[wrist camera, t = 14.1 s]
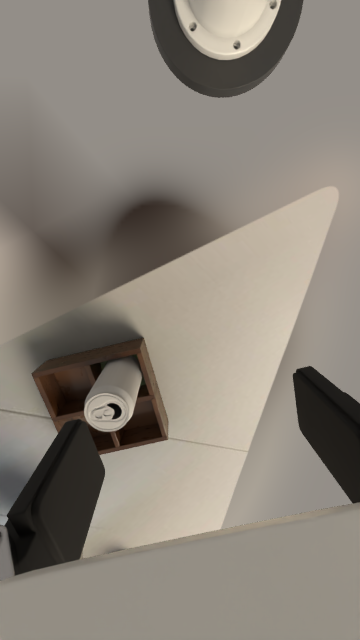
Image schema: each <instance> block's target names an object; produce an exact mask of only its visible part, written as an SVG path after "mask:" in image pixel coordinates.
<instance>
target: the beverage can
mask: <svg viewBox="0 0 360 640" xmlns="http://www.w3.org/2000/svg"><path fill="white" fill-rule="evenodd" d="M142 375H143V373H142V370H141V366H140V363H139V361H138V360H137V359H136V358H135V357H133V356H131V355H130V356H125V357H121V358H117V359H112V360H109V361H108V362H107V364H106V365H105V367H104V369H103V370H102V372H101V374H100V375H99V377H98V379H97V380H96V382H95V384H94V385H93V387H92V389H91V390H90V392H89V394H88V395H87V397H86V400H85V408H84V415H85V418H86V420H87V422H88V423H89V424H90V425H91V426H92V427H94V428H95V429H97V430H100V431H104V432H112V431H116V430H119V429H121V428H122V427H123V426H124V425H125V424H126V423H127V422H128V421H129V419H130V418H131V417H132V415H133V411H134V407H135V403H136V399H137V395H138V391H139V387H140V383H141V379H142Z"/></svg>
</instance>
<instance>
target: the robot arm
mask: <svg viewBox="0 0 360 640" xmlns="http://www.w3.org/2000/svg"><path fill="white" fill-rule="evenodd" d="M173 2H174V7H175V13H176V16H177V19H178V22H179V25H180V27H181V29H182V31H183V33H184V34H185V36H186V38H187V39H188V40H189V41H190V43H191V44H192V45H193V46H194V47H195V48H196V49H197V50H199V51H200V52H201V53H203V54H205V55H207V56H208V57H211V58H214V59H218V60H232V59H237V58H240V57H242V56H244V55H246V54H248V53H249V52H251V51H252V50H253V49H255V48H256V47H257V46H258V45H259V44H260V43H261V42H262V41H263V39H264V38H265V36H266V35H267V33H268V32H269V30H270V28H271V26H272V24H273V22H274V20H275V18H276V15H277V12H278V10H279V7H280V3H281V0H173ZM293 382H294V390H295V398H296V406H297V414H298V422H299V427H300V430H301V432H302V434H303V435H304V436H305V438H306V439H307V440H308V442H309V443H310V445H311V446H312V448H313V449H314V450H315V451H316V453H317V454H318V456H319V457H320V458H321V460H322V461H323V463H324V464H325V466H326V467H327V468H328V470H329V471H330V472H331V474H332V475H333V477H334V478H335V479H336V481H337V482H338V483H339V485H340V486H341V488H342V489H343V490H344V492H345V493H346V495H347V496H348V497H349V499H350V500H351V501H352V503H353V504H348V505H342V506H337V507H331V508H326V509H321V510H315V511H310V512H305V513H300V514H295V515H290V516H285V517H280V518H275V519H270V520H265V521H260V522H255V523H250V524H246V525H240V526H235V527H231V528H226V529H221V530H216V531H211V532H206V533H202V534H197V535H192V536H187V537H182V538H178V539H173V540H168V541H163V542H159V543H154V544H149V545H144V546H140V547H135V548H130V549H126V550H121V551H117V552H112V553H107V554H103V555H98V556H93V557H89V558H84V559H80V557H81V553H82V550H83V547H84V543H85V540H86V537H87V533H88V530H89V527H90V523H91V520H92V517H93V513H94V510H95V507H96V503H97V500H98V497H99V493H100V490H101V487H102V484H103V480H104V477H105V468H104V465H103V463H102V461H101V458H100V456H99V453H98V451H97V448H96V446H95V443H94V441H93V439H92V436H91V434H90V431H89V429H88V426H87V424H86V422H85V421H82V420H81V419H76V420H71V421H67V422H65V424H64V425H63V427H62V428H61V430H60V432H59V433H58V435H57V436H56V438H55V439H54V441H53V443H52V444H51V446H50V447H49V449H48V451H47V452H46V454H45V455H44V457H43V459H42V460H41V462H40V463H39V465H38V466H37V468H36V470H35V471H34V473H33V474H32V476H31V478H30V479H29V481H28V482H27V484H26V486H25V487H24V489H23V490H22V492H21V493H20V495H19V497H18V498H17V500H16V501H15V503H14V505H13V506H12V508H11V509H10V511H9V513H8V514H7V517H8V521H7V523H6V524H5V526H3V525H0V640H360V404H359V403H358V402H357V401H356V400H355V399H353V398H352V397H351V396H350V395H348V394H347V393H345V392H342V391H341V390H340V389H338V388H337V387H336V386H335V385H334V384H333V383H331V382H330V381H329V380H328V379H326V378H325V377H324V376H323V375H321V374H320V373H319V372H318V371H317V370H315V369H314V368H313V367H311V366H309V367H304V368H300V369H297V370H296V373H294V374H293Z"/></svg>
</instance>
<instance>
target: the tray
mask: <svg viewBox="0 0 360 640" xmlns="http://www.w3.org/2000/svg"><path fill="white" fill-rule="evenodd" d="M130 355H131V356H133V357H135V358H136V359H137V360H138V361H139V363H140V366H141V370H142V373H143V375H142V379H141V383H140V387H139V391H138V395H137V399H136V403H135V407H134V411H133V415H132V417H131V418H130V419H129V421H128V422H127V423H126V424H125V425H124V426H123V427H122V428H121V429H119V430H116V431H112V432H104V431H100V430H97V429H95V428H94V427H92V426H91V425H90V424H89V423H88V422H87V420H86V418H85V415H84V408H85V400H86V397H87V395H88V394H89V392H90V390H91V389H92V387H93V385H94V384H95V382H96V380H97V379H98V377H99V375H100V374H101V372H102V370H103V369H104V367H105V365H106V364H107V362H108V361H109V360H112V359H117V358H121V357H125V356H130ZM32 376H33V378H34V381H35V383H36V385H37V387H38V389H39V392H40V394H41V396H42V398H43V401H44V403H45V405H46V407H47V409H48V412H49V414H50V416H51V418H52V420H53V423H54V425H55V427H56V429H57V432H58V433H59V432H60V430H61V428H62V427H63V425H64V424H65V422H67V421H71V420H76V419H81V420H82V421H85V422H86V424H87V426H88V429H89V431H90V434H91V436H92V439H93V441H94V443H95V446H96V448H97V451H98V453H99V455H101V454H106V453H110V452H115V451H119V450H124V449H128V448H133V447H137V446H142V445H146V444H151V443H155V442H160V441H164V440H168V418H167V415H166V411H165V408H164V405H163V401H162V398H161V395H160V391H159V388H158V384H157V381H156V378H155V374H154V371H153V368H152V364H151V361H150V358H149V354H148V351H147V347H146V344H145V341H144V338H140V339H136V340H131V341H127V342H123V343H119V344H115V345H110V346H106V347H102V348H98V349H93V350H89V351H85V352H81V353H77V354H72V355H68V356H64V357H60V358H55V359H51V360H47V361H46V362H44V363H43V364H42V365H41V366H40V367H39V368H37V369H36V370H35V371H34V372H33V373H32Z"/></svg>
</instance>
